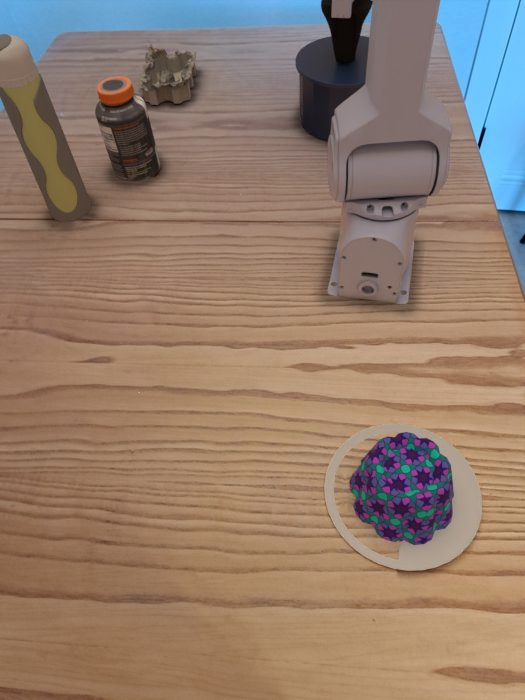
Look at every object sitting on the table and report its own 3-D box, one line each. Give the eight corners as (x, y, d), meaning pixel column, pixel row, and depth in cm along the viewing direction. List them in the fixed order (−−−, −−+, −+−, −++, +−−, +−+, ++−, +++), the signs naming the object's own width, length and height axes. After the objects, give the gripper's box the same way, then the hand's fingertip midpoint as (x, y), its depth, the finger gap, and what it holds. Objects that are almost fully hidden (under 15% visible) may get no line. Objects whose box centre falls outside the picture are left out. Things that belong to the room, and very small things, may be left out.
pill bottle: (165, 156, 74) (145, 69, 65) (155, 184, 71) (133, 97, 62) (120, 156, 75) (95, 70, 66) (109, 184, 71) (80, 98, 62)
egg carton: (154, 69, 88) (148, 42, 85) (202, 68, 88) (198, 41, 84) (138, 106, 82) (131, 78, 79) (190, 106, 81) (185, 78, 78)
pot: (381, 145, 73) (387, 89, 67) (293, 139, 75) (291, 83, 69) (389, 98, 79) (396, 42, 73) (308, 93, 81) (308, 38, 76)
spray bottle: (95, 219, 68) (29, 45, 52) (54, 229, 67) (-26, 57, 51) (90, 195, 70) (26, 23, 54) (50, 204, 70) (-26, 33, 54)
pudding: (356, 594, 41) (361, 573, 37) (304, 449, 48) (304, 417, 44) (509, 546, 42) (532, 520, 38) (437, 412, 49) (449, 377, 45)
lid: (390, 96, 67) (395, 56, 63) (286, 90, 69) (285, 50, 65) (399, 45, 74) (404, 6, 70) (305, 41, 76) (305, 3, 73)
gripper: (326, -102, 64) (323, 25, 75) (302, -52, 56) (303, 83, 67) (390, -102, 63) (377, 27, 74) (375, -51, 55) (364, 86, 66)
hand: (346, 54), depth 70 cm, fingers closed on lid, 2 cm apart
